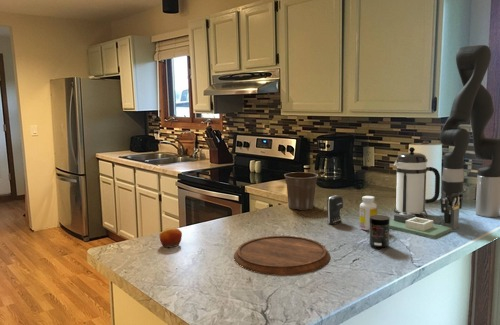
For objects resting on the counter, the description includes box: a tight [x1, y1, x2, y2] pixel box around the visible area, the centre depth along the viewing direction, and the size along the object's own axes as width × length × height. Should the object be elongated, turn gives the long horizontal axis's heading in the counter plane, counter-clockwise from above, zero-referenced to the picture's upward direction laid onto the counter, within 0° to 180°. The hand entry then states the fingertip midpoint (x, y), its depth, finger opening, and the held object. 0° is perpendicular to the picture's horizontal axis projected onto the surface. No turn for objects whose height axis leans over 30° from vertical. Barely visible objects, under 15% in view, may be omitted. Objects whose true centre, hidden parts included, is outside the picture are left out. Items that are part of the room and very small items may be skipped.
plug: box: [443, 205, 460, 231], centre depth 168 cm, size 4×4×9 cm
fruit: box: [159, 227, 183, 248], centre depth 155 cm, size 8×8×8 cm
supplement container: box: [368, 214, 391, 250], centre depth 149 cm, size 7×7×10 cm
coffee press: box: [393, 146, 441, 218], centre depth 188 cm, size 17×16×30 cm
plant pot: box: [283, 171, 319, 211], centre depth 206 cm, size 16×16×16 cm
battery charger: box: [326, 195, 344, 225], centre depth 178 cm, size 7×4×11 cm, turn 134°
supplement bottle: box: [359, 195, 378, 231], centre depth 169 cm, size 7×7×13 cm
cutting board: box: [233, 235, 331, 276], centre depth 143 cm, size 32×32×2 cm
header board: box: [389, 212, 452, 239], centre depth 168 cm, size 14×22×5 cm, turn 40°
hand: (451, 221), depth 168 cm, fingers open, 5 cm apart
